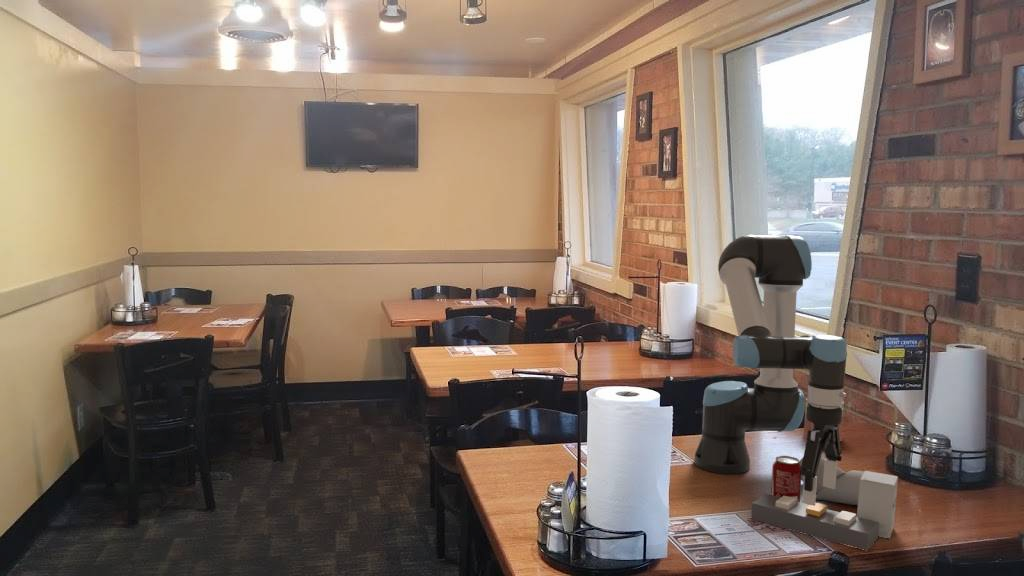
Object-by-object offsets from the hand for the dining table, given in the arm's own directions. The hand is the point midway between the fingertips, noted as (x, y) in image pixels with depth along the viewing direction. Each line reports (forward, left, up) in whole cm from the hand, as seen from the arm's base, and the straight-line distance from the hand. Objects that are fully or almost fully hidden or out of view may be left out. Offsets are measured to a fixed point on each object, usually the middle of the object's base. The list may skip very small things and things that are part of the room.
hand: (819, 495), depth 186 cm
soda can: (-11, +8, -8) cm, 16 cm away
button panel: (-1, -1, -8) cm, 8 cm away
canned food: (-23, +72, -8) cm, 76 cm away
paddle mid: (0, -1, -4) cm, 4 cm away
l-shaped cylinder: (-4, +24, -8) cm, 26 cm away
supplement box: (+10, +8, -8) cm, 15 cm away
